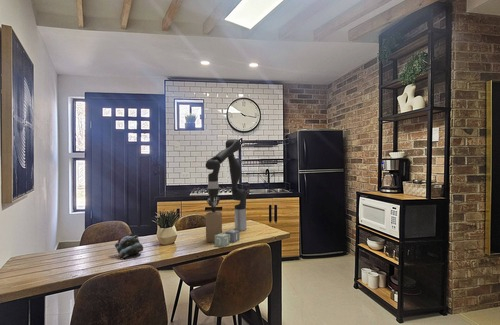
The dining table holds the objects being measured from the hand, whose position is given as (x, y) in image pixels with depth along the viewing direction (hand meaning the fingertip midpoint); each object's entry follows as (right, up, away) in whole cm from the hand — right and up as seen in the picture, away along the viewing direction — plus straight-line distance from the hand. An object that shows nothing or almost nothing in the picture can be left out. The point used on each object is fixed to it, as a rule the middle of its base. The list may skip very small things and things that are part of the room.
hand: (213, 211), depth 209 cm
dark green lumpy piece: (-48, -22, -31) cm, 61 cm away
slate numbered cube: (+14, -21, -1) cm, 25 cm away
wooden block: (0, -21, 0) cm, 21 cm away
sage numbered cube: (+7, -21, -12) cm, 25 cm away
